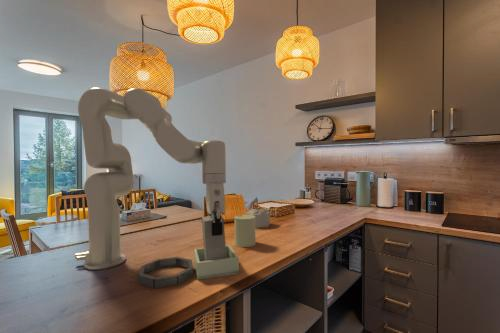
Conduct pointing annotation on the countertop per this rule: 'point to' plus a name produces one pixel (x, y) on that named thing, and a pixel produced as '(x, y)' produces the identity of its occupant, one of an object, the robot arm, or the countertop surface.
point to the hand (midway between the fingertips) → (214, 231)
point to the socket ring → (165, 280)
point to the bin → (216, 264)
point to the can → (244, 230)
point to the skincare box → (213, 241)
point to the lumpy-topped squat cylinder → (260, 217)
